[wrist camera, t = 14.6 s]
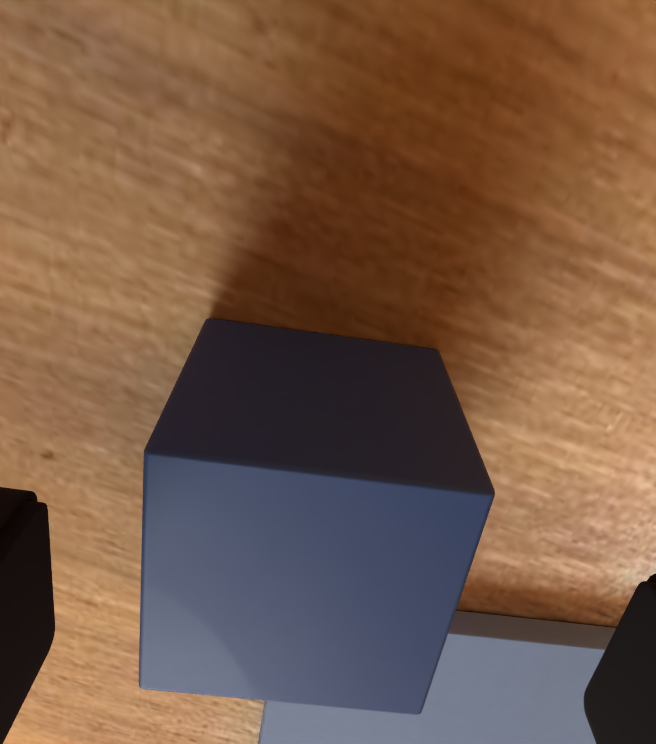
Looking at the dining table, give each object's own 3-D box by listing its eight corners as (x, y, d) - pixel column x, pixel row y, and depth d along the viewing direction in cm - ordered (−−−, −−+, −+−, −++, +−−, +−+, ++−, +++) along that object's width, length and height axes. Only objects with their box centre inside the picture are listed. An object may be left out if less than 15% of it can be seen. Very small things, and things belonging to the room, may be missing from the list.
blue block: (193, 505, 15) (136, 691, 11) (205, 315, 13) (142, 449, 8) (393, 528, 15) (421, 717, 11) (439, 348, 13) (498, 491, 9)
